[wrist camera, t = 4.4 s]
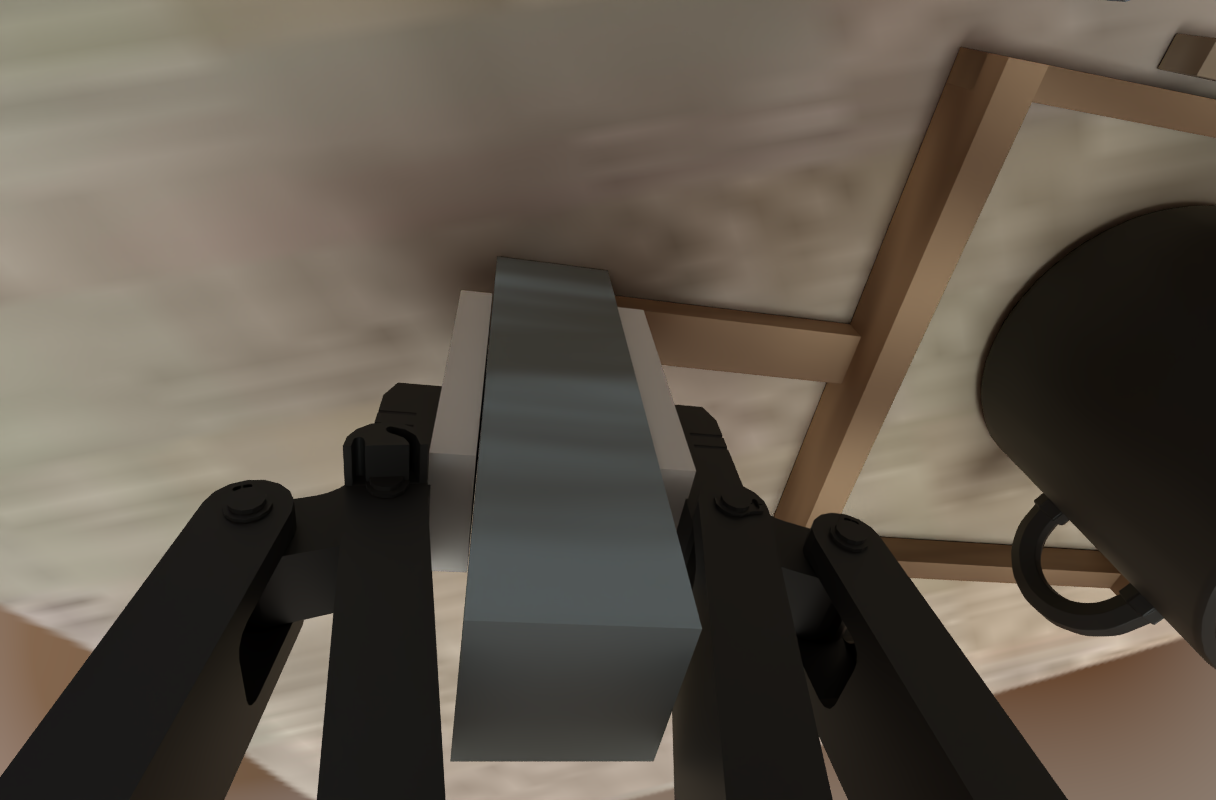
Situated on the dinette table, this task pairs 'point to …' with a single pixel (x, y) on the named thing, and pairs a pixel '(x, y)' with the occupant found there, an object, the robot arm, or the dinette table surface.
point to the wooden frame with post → (627, 462)
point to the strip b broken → (1190, 56)
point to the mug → (1119, 421)
